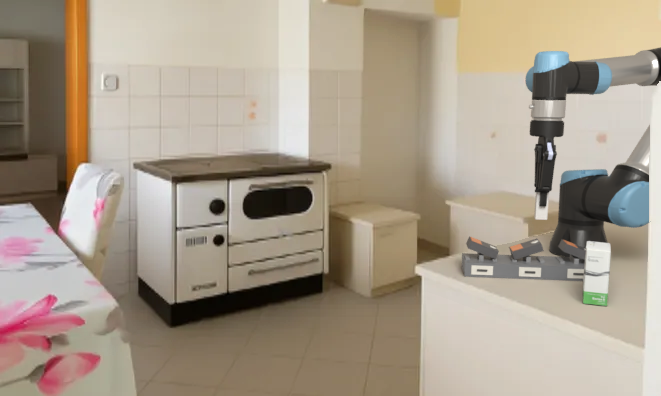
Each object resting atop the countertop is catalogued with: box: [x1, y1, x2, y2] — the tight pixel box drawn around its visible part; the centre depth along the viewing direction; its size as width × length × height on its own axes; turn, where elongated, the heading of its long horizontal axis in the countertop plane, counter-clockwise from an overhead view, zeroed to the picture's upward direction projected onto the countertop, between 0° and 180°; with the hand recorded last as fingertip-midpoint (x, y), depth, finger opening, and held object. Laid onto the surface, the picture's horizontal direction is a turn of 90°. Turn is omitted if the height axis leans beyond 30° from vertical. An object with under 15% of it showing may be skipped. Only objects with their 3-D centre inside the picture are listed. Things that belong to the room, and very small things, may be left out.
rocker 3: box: [558, 239, 586, 260], centre depth 150 cm, size 7×5×2 cm
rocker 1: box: [465, 236, 500, 259], centre depth 153 cm, size 7×5×2 cm
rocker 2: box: [508, 238, 544, 260], centre depth 151 cm, size 7×5×2 cm
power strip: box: [461, 252, 585, 282], centre depth 152 cm, size 30×9×5 cm, turn 83°
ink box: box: [582, 241, 612, 307], centre depth 133 cm, size 9×5×12 cm, turn 158°
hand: (540, 218), depth 150 cm, fingers closed
